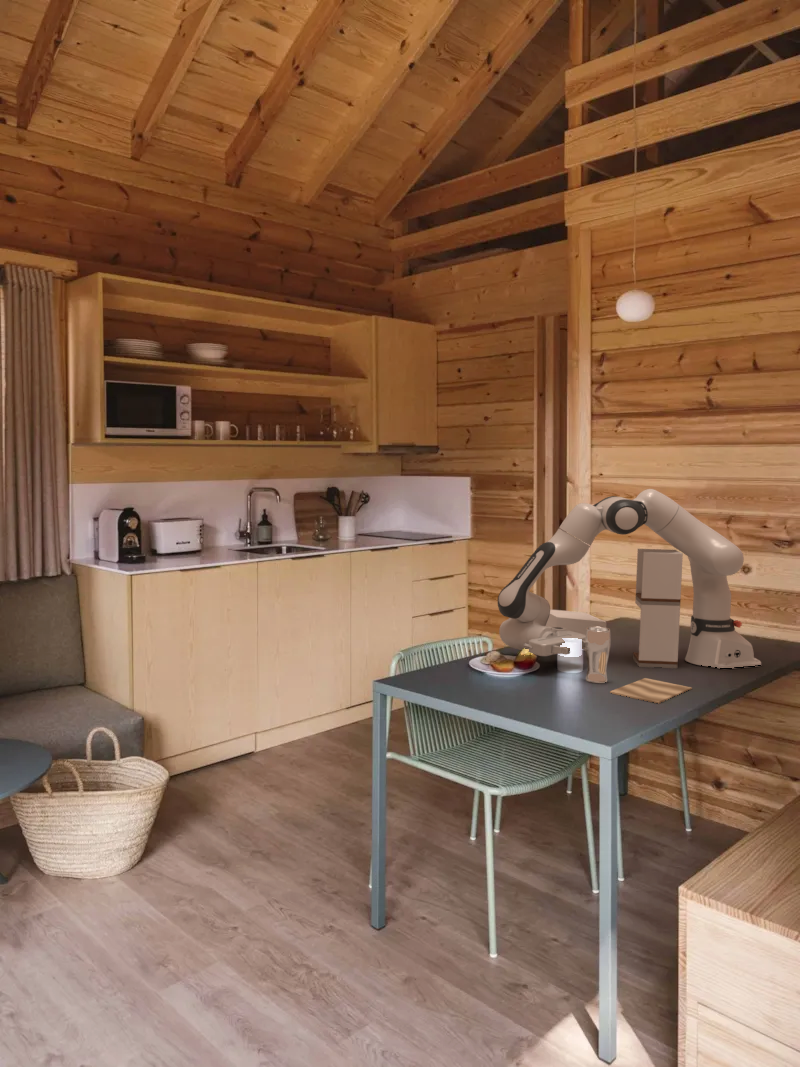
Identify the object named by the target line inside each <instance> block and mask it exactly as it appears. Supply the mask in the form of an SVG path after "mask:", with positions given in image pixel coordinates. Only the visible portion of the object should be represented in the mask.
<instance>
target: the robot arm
mask: <svg viewBox="0 0 800 1067" xmlns="http://www.w3.org/2000/svg"><path fill="white" fill-rule="evenodd" d="M644 525H645V526H646V527H648V528H649V529H650V530H652V532H654V533H655V534H657V536H659V537H660V538H662V539H663V540H664V541H666V542H667V543H668V544H669V545H671V546H672V547H673V548H675V550H677V551H679V552H681V553H682V554H683V555H685V556H686V557H687V559H688V561H689V566H690V573H691V581H692V588H693V591H692V592H693V598H692V599H693V600H692V615H691V617H690V626H689V628H690V639H689V645H688V649H687V653H686V655H685V657H684V660H685V661H686V662H688V663H690V664H693V665H697V666H701V665H702V667H708V666H711V667H710V668H715V667H717V668H716V669H720V668H732V669H735V668H734V667H743V666H755V665H761V666H762V661H761V660H760V659H758V658H756V657H755V656H754V655H755V654H754V649H753V648H754V647H753V644H752V643H751V642H750V641H748V640H747V639H746V638H745V637H744V636H742V635H741V634H740V633H739V632H738V631H737V630H736V628H742V626H743V622H742V621H740V620H738V619H737V620H734V619H733V618H731V607H732V606H731V605H732V592H731V590H730V587H729V583H728V577H727V576H733V575H735V574H737V573H738V572H739V571H741V569H742V568H743V564H744V561H745V558H744V554H743V551H742V550H741V549H740V548H739V547H738V546H737V545H736V544H735V543H733V542H732V541H730V539H728V538H726V537H725V536H724V535H722V534H720V533H719V532H718V531H716V530H715V529H713V528H711V527H710V526H709V525H707V524H706V523H704V522H702V521H701V520H699V519H698V518H697V517H695V516H694V515H693V514H692V513H690V512H689V511H688V510H686V509H685V508H684V507H683V506H681V505H680V504H679V503H678V502H676V501H675V500H673V499H672V498H670V497H669V496H668V495H666V494H664V493H663V492H660V491H658V490H657V489H654V488H647V489H644V490H642V491H641V492H639V494H637V496H636V497H635V498H634V499H631V498H630V499H629V498H625V497H622V496H617V495H611V496H607V497H605V498H603V499H601V500H600V501H598V502H596V503H594V504H591V503H589V502H588V503H587V502H580V503H578V504H576V505H574V507H573V508H572V509H571V511H570V512H568V514H567V515H566V517H565V518H564V519H563V521H562V523H561V524H560V526H559V527H558V529H557V530H556V532H555V533H554V534H553V535H552V537H551V538H550V539H549V540H548V541H546V542H543V543H541V544H540V545H539V546H538V547H537V548H536V550H534V552H532V554H531V555H530V557H529V558H528V559H527V560H526V561H525V563H524V564H523V565H522V567H521V568H520V570H518V572H517V573H516V575H515V576H514V577H513V578H512V580H510V581H509V582H508V583H507V584H506V586H504V587H503V588H502V589H501V591H500V592H499V593H498V596H497V608H498V611H499V614H501V616H503V617H506V618H508V619H506V620H504V621H502V623H501V624H500V626H499V629H498V630H499V638H500V639H501V641H502V642H503V643H504V644H505V646H508V647H510V648H512V649H516V650H519V651H522V649H523V648H525V649H529V651H528V653H530V654H532V655H536V656H540V657H548V656H552V655H565V656H566V655H569V654H570V653H571V651H570V648H567V647H560V645H562V643H565V641H564V640H563V639H562V638H578V639H582V649H584V650H583V651H586V650H585V639H586V636H585V635H583V634H580V633H576V632H572V631H566V629H565V628H562V627H548V626H545V625H546V623H547V621H548V618H549V615H550V609H551V606H550V603H549V601H548V600H547V599H546V598H545V597H543V596H541V595H538V594H536V593H533V592H531V591H530V590H531V588H532V587H533V586H534V585H535V583H536V582H537V581H538V580H539V578H540V577H541V576H542V574H543V573H544V572H545V571H546V570H548V568H551V567H553V566H569V565H574V564H577V563H578V562H580V561H581V560H582V559H583V558H584V557H585V556H586V554H587V552H589V550H590V548H591V546H592V544H593V542H594V541H595V538H596V537H597V536H598V535H600V533H601V532H603V531H609V532H611V533H613V534H614V533H615V534H617V535H620V536H621V535H622V536H623V535H629V534H632V533H633V532H636V531H637V530H638V529H639V528H640V527H642V526H644ZM735 627H736V628H735ZM755 667H756V666H755Z"/></svg>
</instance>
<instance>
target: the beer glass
mask: <svg viewBox="0 0 800 1067" xmlns="http://www.w3.org/2000/svg"><path fill="white" fill-rule="evenodd" d="M584 651H585V658H586V664H587V666H586V667H587V668H586V669H587V670H586V676H585V681H586V682H588V683H590V684H591V683H592V684H606V683H607V682H608V674H607V666H608V661H609V656H610V652H611V629H610V628H608V627H606V628H605V627H587V630H586V639H585V650H584ZM605 682H606V683H605Z"/></svg>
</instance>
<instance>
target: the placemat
mask: <svg viewBox="0 0 800 1067" xmlns="http://www.w3.org/2000/svg"><path fill="white" fill-rule="evenodd" d="M688 690H689V691H691V690H693V687H691V686H686V685H681V684H678V683H677V684H676V683H671V682H666V681H662V680H658V679H657V680H656V679H651V678H647V677H644V678H642V679H639V680H637V681H633V682H631V683H628V684H626V685H622V686H620V687H618V688H615V689H613V690H610V691H609V694H611V693H612V694H611V695H616V696H620V695H621V696H622V697H625V698H629V697H630V699H634V700H638V699H639V701H643V700H644V701H645V702H647V701H648V703H652V702H654V703H653V704H656V703H658V704H657V705H660V704H662V703H664V702H666V701H669V700H671V699H673V698H675V697H678V696H680V695H682V694H684V692H685V693H687V692H689V691H688ZM686 691H687V692H686ZM681 693H682V694H681ZM679 694H680V695H679ZM677 695H678V696H677ZM626 696H627V697H626ZM674 696H675V697H674ZM672 697H673V698H672ZM670 698H671V699H670ZM668 699H669V700H668ZM665 700H666V701H665ZM644 701H643V702H644ZM661 702H662V703H661Z"/></svg>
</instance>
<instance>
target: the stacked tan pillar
mask: <svg viewBox="0 0 800 1067" xmlns="http://www.w3.org/2000/svg"><path fill="white" fill-rule="evenodd" d="M683 555H684V553H682V552H681V551H679V550H678V549H665V548H664V549H662V548H660V549H659V548H656V549H655V548H637V556H636V557H637V558H636V560H637V561H636V579H635V580H636V584H635V602H634V603H635V604H636V605H637V607H638V608H640V614H639V615H640V620H639V623H640V624H639V638H638V640H639V642H638V652H633V653H632V654H633V655H632V660H633V661H634V662H635V664H636V663H637V664H636V665H637V667H638V666H639V668H654V667H662V668H661V669H678V662H679V661H678V659H679V643H680V641H679V639H680V619H681V618H680V617H681V600H682V599H681V598H682V576H683V575H682V574H683V558H684V557H683Z"/></svg>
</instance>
